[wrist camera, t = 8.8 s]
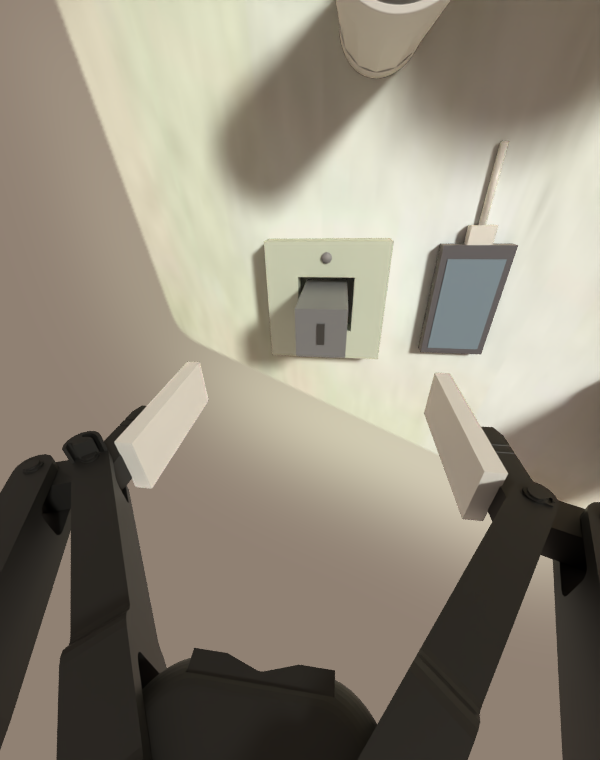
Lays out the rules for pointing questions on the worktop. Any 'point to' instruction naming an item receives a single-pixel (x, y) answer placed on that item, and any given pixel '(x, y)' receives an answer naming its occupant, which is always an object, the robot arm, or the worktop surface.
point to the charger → (322, 318)
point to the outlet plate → (329, 259)
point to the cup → (384, 32)
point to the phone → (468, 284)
